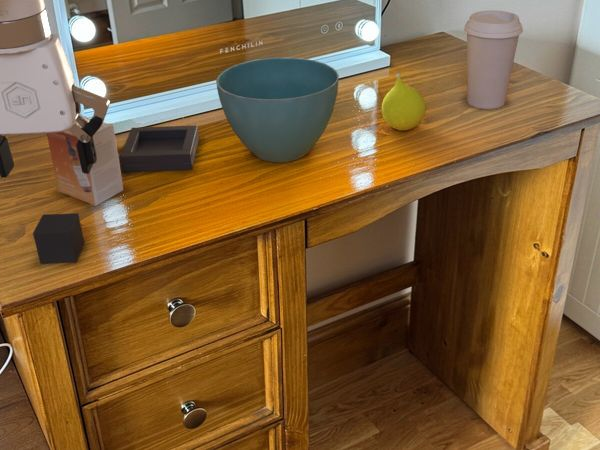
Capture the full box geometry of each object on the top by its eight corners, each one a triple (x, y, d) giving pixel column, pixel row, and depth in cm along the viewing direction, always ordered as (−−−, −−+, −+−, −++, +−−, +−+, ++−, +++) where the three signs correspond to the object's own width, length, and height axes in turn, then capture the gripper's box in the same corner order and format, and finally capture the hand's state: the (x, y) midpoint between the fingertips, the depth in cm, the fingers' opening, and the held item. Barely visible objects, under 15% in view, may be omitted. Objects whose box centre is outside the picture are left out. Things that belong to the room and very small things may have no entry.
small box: (57, 192, 111) (43, 125, 105) (87, 177, 114) (74, 111, 109) (96, 207, 107) (82, 138, 101) (125, 190, 110) (113, 123, 105)
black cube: (76, 262, 95) (69, 231, 92) (40, 263, 95) (32, 233, 92) (84, 243, 99) (78, 213, 96) (49, 244, 99) (42, 214, 96)
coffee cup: (519, 111, 130) (530, 24, 123) (463, 113, 131) (470, 26, 123) (507, 91, 139) (516, 8, 131) (454, 92, 139) (460, 9, 131)
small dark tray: (192, 170, 115) (190, 153, 114) (122, 172, 115) (119, 156, 114) (199, 140, 125) (197, 125, 123) (134, 142, 125) (131, 127, 123)
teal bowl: (214, 135, 126) (207, 64, 120) (321, 121, 130) (319, 51, 123) (234, 185, 111) (227, 106, 104) (354, 167, 114) (354, 90, 108)
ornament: (390, 117, 130) (392, 60, 125) (430, 123, 127) (433, 66, 122) (374, 133, 125) (375, 74, 120) (415, 140, 122) (418, 80, 117)
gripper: (-82, 44, 79) (-36, 189, 88) (85, 36, 79) (114, 182, 88) (-54, 22, 85) (-14, 159, 94) (100, 14, 85) (126, 152, 94)
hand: (48, 170), depth 91 cm, fingers open, 9 cm apart
